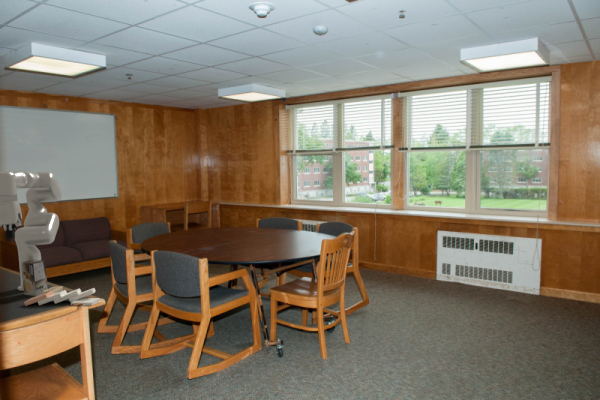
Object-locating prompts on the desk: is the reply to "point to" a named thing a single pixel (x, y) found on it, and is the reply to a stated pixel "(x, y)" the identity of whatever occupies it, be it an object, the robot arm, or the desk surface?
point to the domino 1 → (38, 298)
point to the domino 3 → (68, 295)
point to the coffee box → (34, 277)
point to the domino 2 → (53, 297)
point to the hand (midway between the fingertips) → (10, 238)
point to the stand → (54, 289)
